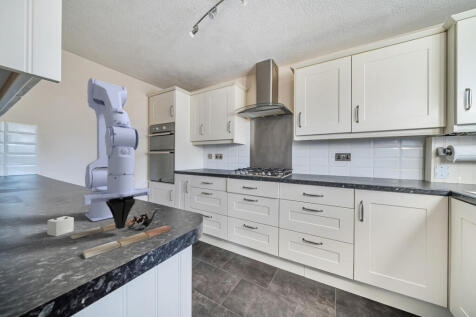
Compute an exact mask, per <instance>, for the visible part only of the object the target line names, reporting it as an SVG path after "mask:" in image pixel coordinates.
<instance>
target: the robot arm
mask: <svg viewBox="0 0 476 317" xmlns="http://www.w3.org/2000/svg"><path fill="white" fill-rule="evenodd" d="M127 99H128V92H127V88H126V87H125V86H121V85H118V84H113V83H111V82H106V81H104V80H103V81H102V80H99V79H96V78H93V77H90V78H89V79H88V82H87V104H88V107H89V108H91V109H92V110H93V111H94V113H95V116H96V159H95V160H92V162H90V163H88V164H87V165H86V168H85V174H84V185H85V186H84V187H85V188H86V189H87V190H90V194H82V203H81V204H83V205H84V206H88V213H85V214H84V216H85V217H86V218H88V219H89V220H90V221H92V222H97V221H103V220H107V219H111V218H113V221H114V223H115V227H116V228H115V229H116V230H121V229H125V228H126V226H125V223H126V220H128V216H129V214H130V212H131V211H132V208H134V207H133V206H134V205H135V204H136V199H135V198H137V197H144V196H151V195H152V188H150V187H140V188H135V165H136V164H135V162H136V157H135V156H136V151H137V149H138V147H139V143H140V142H139V140H140V136H139V131H138V129H137V128H135V126H132V123H131V120H130V117H129V114H128V112H127V111H125V110H124V107H125V104H126V102H127Z"/></svg>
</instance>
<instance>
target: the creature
mask: <svg viewBox="0 0 476 317" xmlns="http://www.w3.org/2000/svg"><path fill="white" fill-rule="evenodd" d="M157 211H158V209H156V210H154V212H153V213H152V217H149V216H148V213H147V212H144V214H140V212H139V211H137V214H138V216H135V215H134V216H133V218H132V219H133V221H130V222H133V224H130V223H129V224H130V225H129V226H127V228H124V231H125V230H128V231H129V230H131V228H132V227H134V225H135V224H136V223H135V222H137V224H138V225H139V224H140V223H141V225H140V226H139V227H138V229H136V228H133V230H137V231H140V230H141V228H142V227H143V226H144V227H145V228H147V227H150V224H151V223H152V222H153V220H154V217H155V214H156V213H157ZM139 217H141V218H139ZM144 217H145V218H144ZM148 217H149V218H148ZM137 218H139V220H138V221H137ZM134 219H135V220H134ZM143 219H144V221H143Z"/></svg>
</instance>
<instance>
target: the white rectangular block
mask: <svg viewBox="0 0 476 317" xmlns="http://www.w3.org/2000/svg"><path fill="white" fill-rule="evenodd" d="M74 219H75V218H74V217H71V216H67V215H66V216H64V215H63V216H60V217H55V218H51V219H47V227H46V228H47V230H46V232H47V233H46V234H47V235H49V236H51V237H52V236H53V237H59V236H62V235H65V234H68V233H69V234H70V233H73V232H74V225H75V224H74V222H75V220H74Z"/></svg>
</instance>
